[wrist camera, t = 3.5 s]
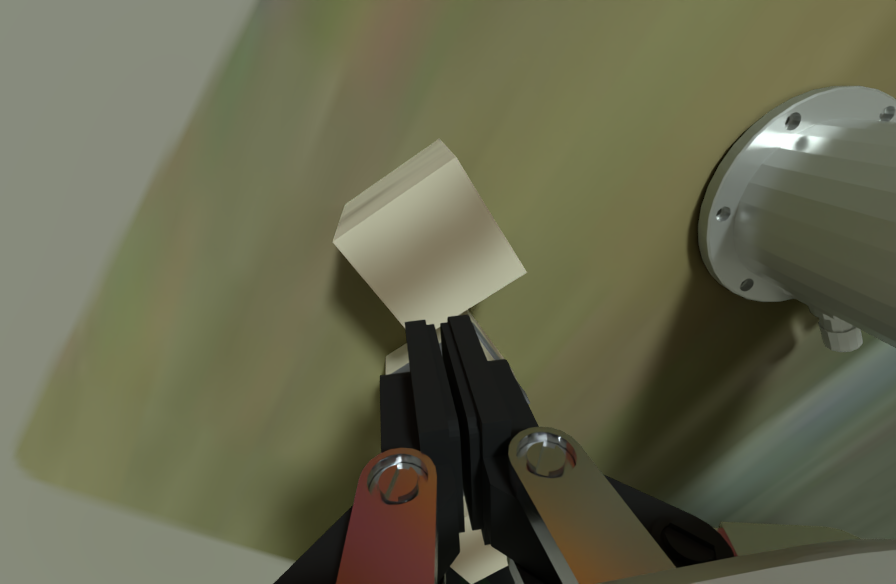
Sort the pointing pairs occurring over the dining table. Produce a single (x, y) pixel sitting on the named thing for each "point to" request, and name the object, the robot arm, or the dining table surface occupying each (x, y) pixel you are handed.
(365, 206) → the plain block
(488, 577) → the cup
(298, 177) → the dining table surface
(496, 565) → the banded block two
